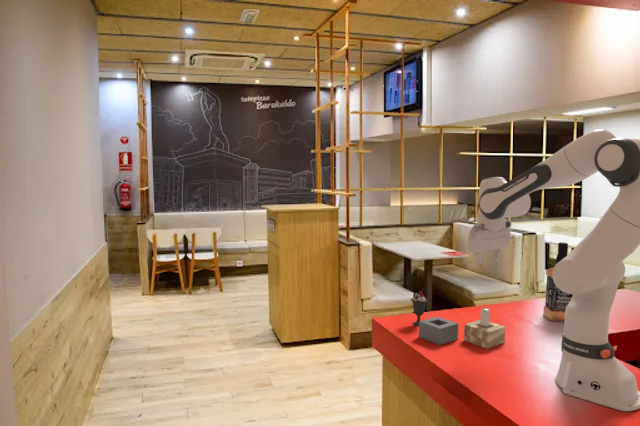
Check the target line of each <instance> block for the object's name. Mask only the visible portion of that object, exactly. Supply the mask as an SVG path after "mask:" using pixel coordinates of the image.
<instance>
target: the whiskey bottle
mask: <svg viewBox="0 0 640 426" xmlns="http://www.w3.org/2000/svg"><path fill="white" fill-rule="evenodd" d="M568 252H569V243H568V242H558V244H557V254H556V258H555V265H556V264H557V263H558V262H560V261H561V260H562V259H564V258H565V257H566V256H567V255H568ZM554 267H555V266H553V267H549V268H547V269H546V271H545V274H546V286H545V287H546V289H545V305H543V311H542V312H543V316H544V317H545V318H547V320H549V321H551V322H562V323H563V322H564V323H565V310H566V307H567V305H568V304H569V302H570V301H571V299H572V296H573V294H568V293H565V292H563V291H561V290H560V289H559V288H558V287H557V286H556V285H555V283H554V281H553V276H552V273H553V269H554Z"/></svg>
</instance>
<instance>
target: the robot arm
mask: <svg viewBox="0 0 640 426" xmlns="http://www.w3.org/2000/svg"><path fill="white" fill-rule="evenodd" d="M597 172H598V173H600V174H601V175H602V176H604V178H606V180H607V181H608V182H609V184H611V185H612V187H617V188H619V192H618V194H617V196H616V198H615V199H614V200H613V201H612V203H611V204H610V205H609V207H608V209H606V211H605V213H604V214H603V215H602V216H601V218H600V220H599V221H597V224H596V225H595V226H594V227H593V229H592V230H591V231H590V232H589V233H588V234H587V235H586V236H585V237H584V238H583V239H582V240H581V241H579V243H577V244H576V246H574V248H573V249H572V250H571V251H570V252H569V253H567V256H566V257H565V258H564V259H562V260H561V261H560V262H558V263H557V264H556V263H555V265H554V266H553V267H554V269H553V273H552V276H553V281H554V283H555V285H556V286H557V287H558V288H559V289H560V290H561V291H563V292H565V293H568V294H573V296H572V299H571V301H570V302H569V304H568V305H567V307H566V310H565V322H564V327H563V328H564V329H563V334H562V336H561V345H560V346H561V350H560V351H561V359H560V363H559V368H558V370H557V371H558V372H557V373H556V376H555V378H554V381H555V383H556V384H557V385H558V386H559V387H560V389H561V390H562V393H564V394H565V395H568V396H572V397H575V398H578V399H582V400H584V401H588V402H590V403H591V402H592V403H594V404H598V405H601V406H605V407H608V408H611V409H614V410H618V411H621V412H632V411H635V410H639V409H640V391H639V390H638V383H637V380H636V379H637V378H636V376H635V374H634V373H633V372H631V371H630V370H629V369H628V368H627V367H626V366H625V365H624V364H623V363H622V362H621V361H620V360H619V359H617V358H616V357H615V352H616V351H617V348H618V345H614V346H613V345H612V344H611V343H610V341H609V328H610V327H609V326H610V318H611V317H610V316H611V311H612V309H613V304H614V302H615V299H616V298H615V297H616V295H617V291H618V287H619V285H620V283H621V281H622V280H623V278H624V277H625V275H626V267H625V266H626V265H625V263H624V260H626V259H627V258H628V257H629V256H631V254H634V253H635V251H636V250H637V248H638V247H640V138H628V137H616V136H615V135H614V134H613V133H612V132H610V131H608V130H606V129H601V128H600V129H599V128H598V129H594V130H592V131H589V132H588V133H585V134H584V135H581V136H580V137H577V138H576V139H574V140H573V141H571V142H570V143H568V144H566V145H565V146H563V147H562V148H560V149H559V150H558V151H556V152H555V153H553V154H552V155H550V156H548V157H547V158H546V159H544V160H542V161H541V162H539V163H537V164H536V165H534V166H533V167H531V168H529V169H527V170H526V171H524V172H522V173H520V174H519V175H517V176H515V177H514V178H512V179H511V180H508V181H507V180H506V179H505V178H504V177H502V176H492V177H486V178H483V179H482V180H481V182H480V184H479V188H478V195H477V197H478V198H477V203H478V211H477V214H476V224H474V225H473V226H472V227H471V228H470V231H469V233H468V237H467V243H466V244H467V245H466V249H467V251H469V252H471V253H473V254H474V257H475V259H476V260H475V261H476V262H475V263H476V264H478V265H481V264H483V263H484V258H482V254H483V252H485V251H487V252H488V251H492V250H494V252H493V253H494V254H492V257H491V260H492V261H495V262H498V261H499V260H500V256H501V253H502V249H503V248H507V247H508V246H510V241H511V228H512V225H513V224H512V221H510V220H509V219H506V218H516V217H521V216H522V217H523V216H525V215H526V214H528V213H529V211H530V210H531V207H532V197H531V195H530V194H532V193H533V192H536V191H540V190H543V189H550V188H562V187H568V186H572V185H574V184H577V183H579V182H582V181H584V180H586V179H588V178H589V177H591V176H593V175H594V174H596V173H597Z"/></svg>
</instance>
